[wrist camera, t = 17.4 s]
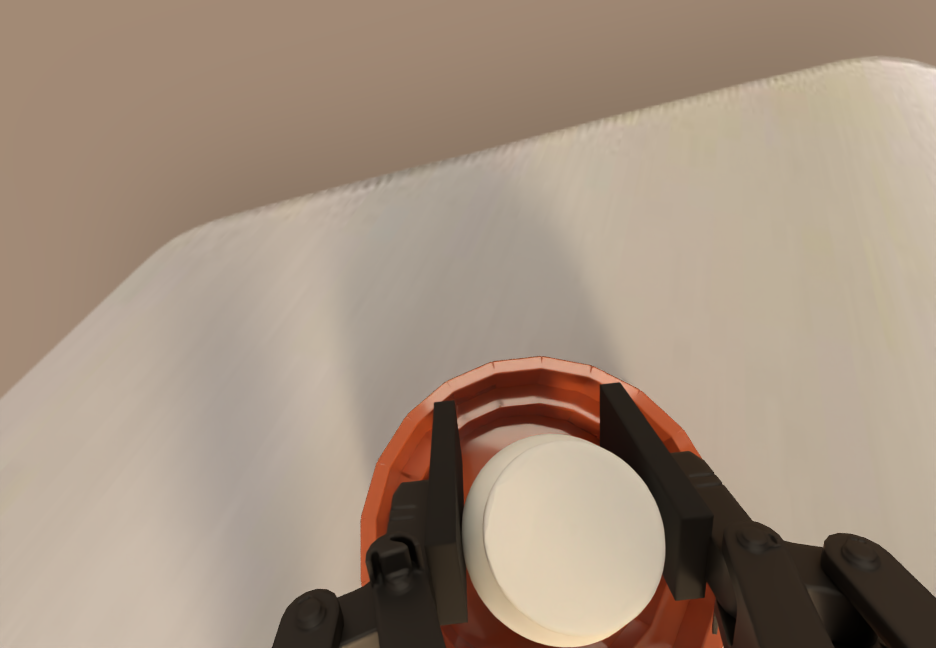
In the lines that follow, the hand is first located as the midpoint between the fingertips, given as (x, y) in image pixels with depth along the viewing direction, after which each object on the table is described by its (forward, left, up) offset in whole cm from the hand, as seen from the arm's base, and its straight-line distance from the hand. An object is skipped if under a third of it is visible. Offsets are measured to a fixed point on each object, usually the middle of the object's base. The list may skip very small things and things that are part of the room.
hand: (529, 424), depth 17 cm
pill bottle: (0, +4, -4) cm, 5 cm away
